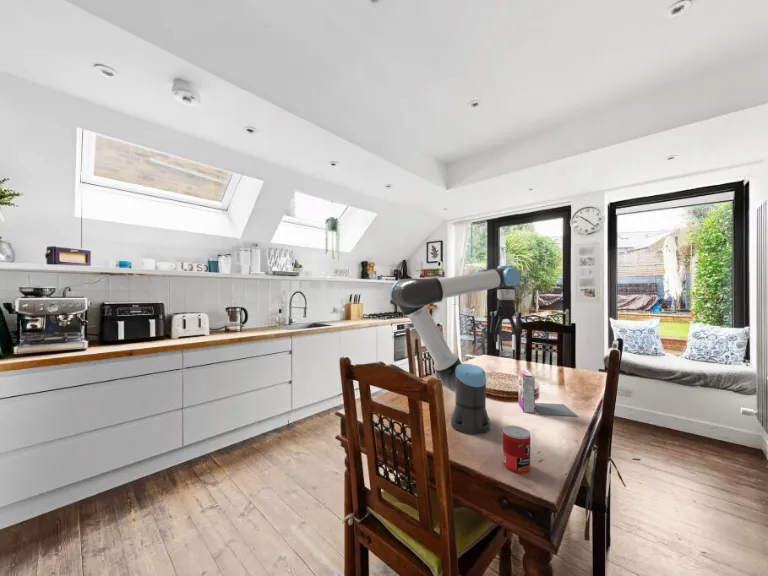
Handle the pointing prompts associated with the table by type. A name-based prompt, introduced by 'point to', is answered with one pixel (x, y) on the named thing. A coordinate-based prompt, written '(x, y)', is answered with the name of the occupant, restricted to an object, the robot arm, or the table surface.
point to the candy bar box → (526, 391)
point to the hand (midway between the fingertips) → (505, 349)
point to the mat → (554, 409)
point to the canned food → (516, 449)
